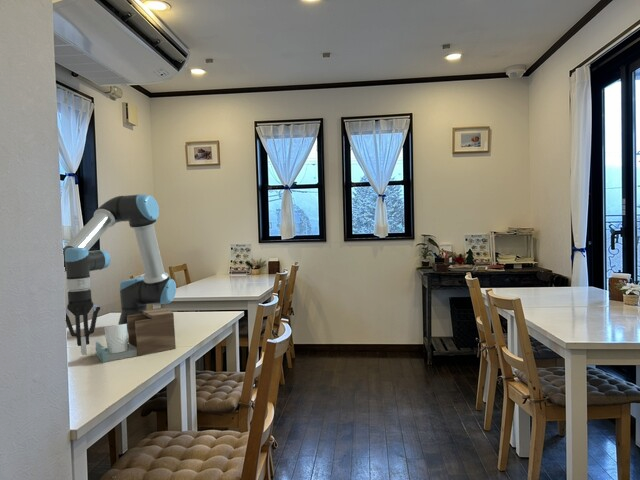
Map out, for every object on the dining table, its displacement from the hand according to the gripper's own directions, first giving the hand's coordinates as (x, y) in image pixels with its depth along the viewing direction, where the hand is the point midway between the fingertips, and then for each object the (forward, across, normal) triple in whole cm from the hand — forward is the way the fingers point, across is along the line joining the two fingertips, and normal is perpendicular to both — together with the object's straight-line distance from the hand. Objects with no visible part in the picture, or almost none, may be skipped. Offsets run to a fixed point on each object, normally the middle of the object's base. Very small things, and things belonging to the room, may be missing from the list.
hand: (84, 353), depth 166 cm
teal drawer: (+3, +12, 0) cm, 12 cm away
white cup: (+1, +11, -3) cm, 12 cm away
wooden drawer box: (+3, +24, 0) cm, 24 cm away
